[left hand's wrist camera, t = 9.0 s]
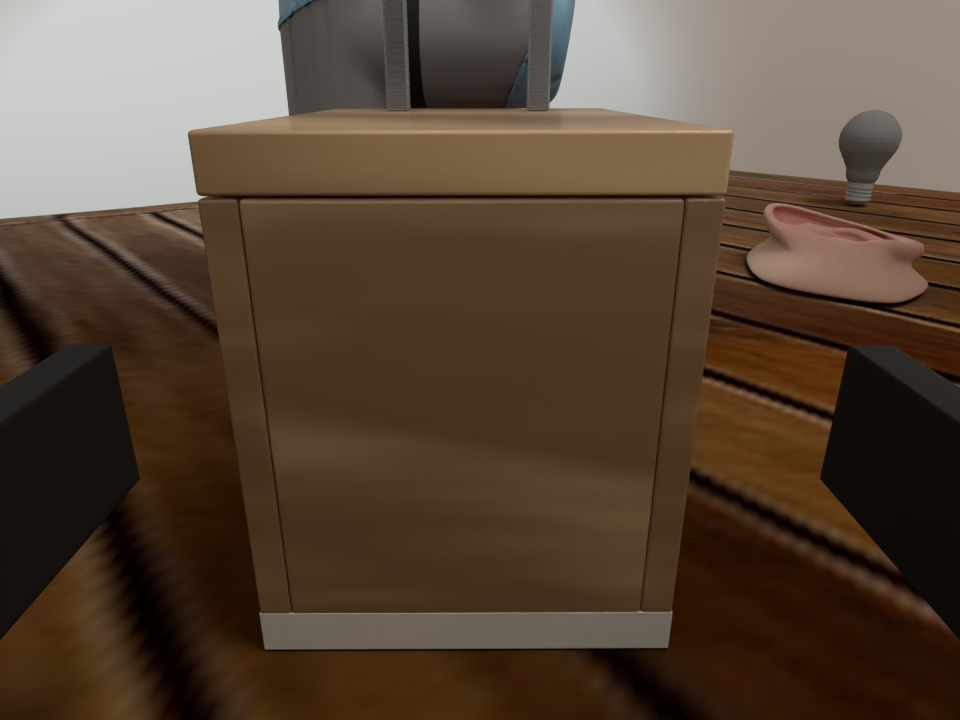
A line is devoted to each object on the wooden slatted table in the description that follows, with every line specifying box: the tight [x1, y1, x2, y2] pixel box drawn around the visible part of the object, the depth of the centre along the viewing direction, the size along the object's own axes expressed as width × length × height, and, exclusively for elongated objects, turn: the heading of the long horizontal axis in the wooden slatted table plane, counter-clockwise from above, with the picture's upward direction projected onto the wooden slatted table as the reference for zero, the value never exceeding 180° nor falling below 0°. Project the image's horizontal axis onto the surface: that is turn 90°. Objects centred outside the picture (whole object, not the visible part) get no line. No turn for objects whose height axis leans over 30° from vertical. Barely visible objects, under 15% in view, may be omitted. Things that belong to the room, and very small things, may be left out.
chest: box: [198, 195, 725, 649], centre depth 20 cm, size 13×10×11 cm
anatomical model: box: [747, 203, 928, 303], centre depth 47 cm, size 13×4×12 cm
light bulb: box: [839, 110, 902, 204], centre depth 75 cm, size 6×6×10 cm
